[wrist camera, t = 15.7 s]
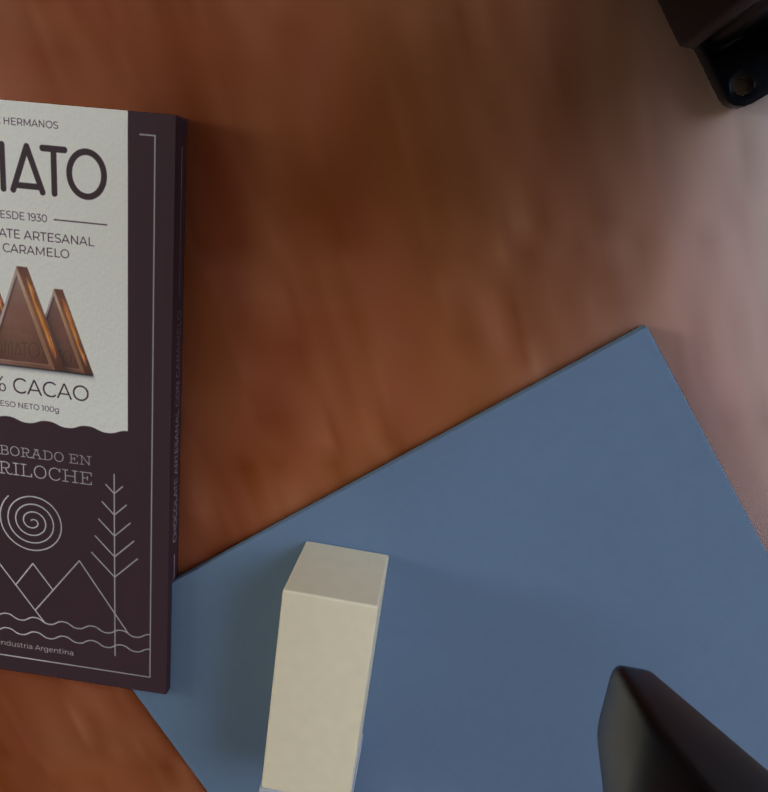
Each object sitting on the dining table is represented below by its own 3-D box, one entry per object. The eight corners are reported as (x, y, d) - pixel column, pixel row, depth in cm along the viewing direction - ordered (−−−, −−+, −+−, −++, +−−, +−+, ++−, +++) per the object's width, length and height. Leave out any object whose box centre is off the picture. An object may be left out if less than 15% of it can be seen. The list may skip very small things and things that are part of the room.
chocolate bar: (-88, 654, 23) (-140, 87, 19) (-68, 638, 24) (-112, 93, 20) (166, 694, 23) (175, 114, 18) (177, 676, 24) (189, 120, 19)
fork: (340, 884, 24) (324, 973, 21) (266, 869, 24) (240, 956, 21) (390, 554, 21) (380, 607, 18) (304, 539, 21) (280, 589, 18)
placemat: (643, 324, 19) (647, 326, 18) (870, 751, 21) (877, 761, 21) (92, 621, 23) (86, 628, 23) (333, 950, 25) (332, 962, 25)
